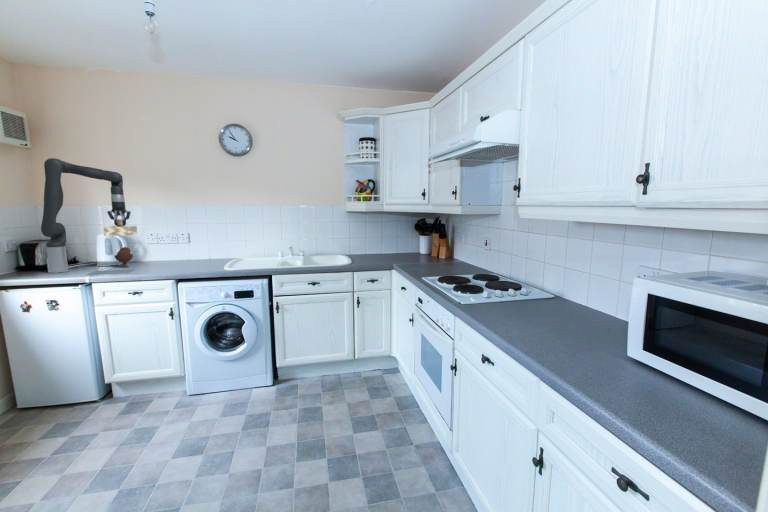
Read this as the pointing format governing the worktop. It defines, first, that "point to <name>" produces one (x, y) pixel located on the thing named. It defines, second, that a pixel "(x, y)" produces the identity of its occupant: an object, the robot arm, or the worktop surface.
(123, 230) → the lid
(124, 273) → the mat
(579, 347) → the worktop surface
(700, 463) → the worktop surface
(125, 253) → the ice cream bowl
